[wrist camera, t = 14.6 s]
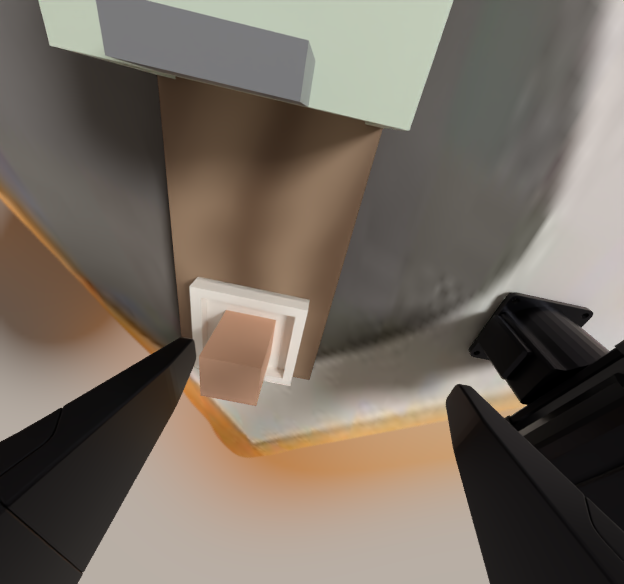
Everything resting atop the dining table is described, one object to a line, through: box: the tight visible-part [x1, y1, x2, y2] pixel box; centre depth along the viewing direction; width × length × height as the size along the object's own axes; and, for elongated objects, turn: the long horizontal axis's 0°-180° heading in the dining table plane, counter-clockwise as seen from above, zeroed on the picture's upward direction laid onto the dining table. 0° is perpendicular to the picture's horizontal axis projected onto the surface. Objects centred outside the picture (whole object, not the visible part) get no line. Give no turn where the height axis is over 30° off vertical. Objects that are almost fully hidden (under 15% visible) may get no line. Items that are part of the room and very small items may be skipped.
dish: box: [189, 277, 310, 386], centre depth 22 cm, size 9×9×1 cm
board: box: [157, 75, 383, 380], centre depth 18 cm, size 12×28×1 cm, turn 168°
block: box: [199, 310, 276, 406], centre depth 20 cm, size 4×4×5 cm
